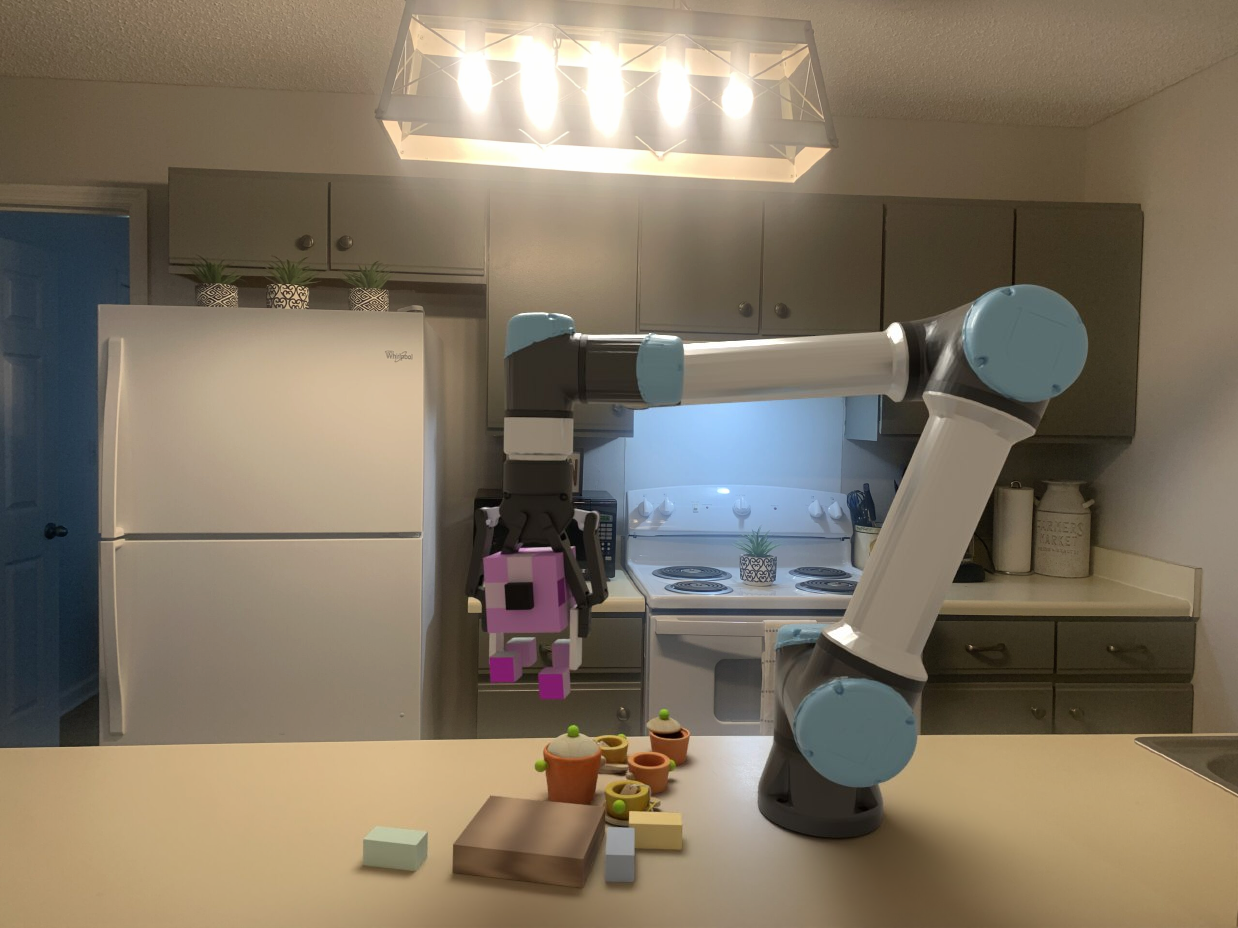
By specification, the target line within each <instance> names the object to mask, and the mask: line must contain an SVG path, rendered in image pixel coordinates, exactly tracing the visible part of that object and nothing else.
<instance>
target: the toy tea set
mask: <svg viewBox="0 0 1238 928" xmlns="http://www.w3.org/2000/svg"><path fill="white" fill-rule="evenodd" d="M645 726H646V729H648V730H649V740H650V746H651V749H650V750H651V751H639V752H635V753H633V754H630V755H629V756H628V748H629V741H628V739H627V736H626V735H625V734H623V733H620V734H618V735H615V734H614V735H613V734H609V735H608V734H605V735H600V736H596V737H594V738H591V737H590V736H588V735H585V734H583V733H580V729H579V727H578V726H577V725H575V724H573V725H570V726H568V728H567V733H563V734H560V735H559V736H557V737H555V738H554V739H553V740H552V741H550V742H549V743H547V744H546V745H545V746H544V747H543V752H542V753H543V754H542V755H543V759H538V760H536V761H535V763H534V770H535V771H536V772H537V773H543V772H544V773H545V778H546V786H547V787H546V788H547V794H548V795H547V797H548V801H551V802H561V803H571V804H581V805H589V804H591V803H592V802H593V801H594V799H595V796H596V795H595V794H596V789H597V783H598V778H599V774H608V775H610V774H612V775H613V774H619V773H623V772H625V780H624V779H620V780H616V781H612V782H610V783H607V785H606V786H605V787H604V796H605V801H604V802H602V803H601V804H600V805H599V806H601V807H605V823H608V824H611V825H614V826H617V827H618V826H620V827H629V811H640V812H654V809H653V808H659V807H661V799H660V798H657V797H655V796H654V797H653V796H652V794H653V795H655V794H659V793H662V792H664V791H665V790H666V788H667V784H668V779H669V773H670V772H673V771H675V770H676V766H678V765H682V764H683V763H685V762H686V760H687V754H688V749H689V748H688V747H689V742H690V737H691V732H690V730H688V729H687V728H684V727H682V726H681V724H680V723H679V721H677V720H676V719H674V718H672V717H670V713H669V710H668V709H666V708H665V709H664V708H663V709H660V710H659V712H658V716H657V717H654V718H652V719H650V720H649V721H648V722H647V723H646V725H645ZM627 770H628V772H626V771H627Z"/></svg>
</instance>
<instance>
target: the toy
mask: <svg viewBox="0 0 1238 928" xmlns="http://www.w3.org/2000/svg"><path fill="white" fill-rule="evenodd" d="M571 549H572V551H573V554H574V556H575V558H576V557H577V554H576V553H577V552H576V546H574V545H573V546H571ZM500 553H501V551H498V552H496V553H494V554H489V556H488V557H485V558H483V562H484V587H485V596H486V613H487V630H488V632H487V634H489V633H504V634H517V633H518V634H520V633H521V634H523V633H524V634H526V633H529V634H530V633H532V634H534V633H535V634H536V633H537V634H538V633H561V632H563V631H564V630H565V629H566V628H567V627H568V626H570V609H572V608H573V607H574V606H575V605H577V604H576V601H575V599H574V597H573V594H572V592H571V589H570V587H569V585H568V582H567V580H566V578H565V575H564V560H563V552H559V553H554V552H553V550H552V548H551V546H547V547H546V546H545V547H542V546H541V547H521V548H520V549H519V551H518V552H516V553H514V554H502V555H500ZM576 559H577V558H576ZM536 640H537V639H536V637H534V636H533V637H512V638H511V639H510V640H508V641H507V642H506V643H505V650H504V651H497V652H496V653H494V654H493V655H492V656H490V657H489V656H488V664H489V677H490V679H489V681H490V683H515V682H516V681H518V680H519V679H520V678H522V676H523V668H525V667H527V668H528V667H531V666H533V665H534V664H535V663H536V662H537V661H538V657H537V655H538V654H537V641H536ZM569 655H570V638H561V639H560V638H558V639H556V640H555V641H554V642H552V643H551V659H552V660H551V661H552V662H551V664H552V666H545V667H544V668H542V669H541V671H540V672H539V673H538V674H537V680H538V696H539V700H565V699H566V697H568V695H569V694H570V693H571V692H572V690H571V676H570V674H571V673H570V670H569Z"/></svg>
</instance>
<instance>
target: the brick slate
mask: <svg viewBox="0 0 1238 928" xmlns="http://www.w3.org/2000/svg"><path fill="white" fill-rule="evenodd" d="M606 829H607V831H606V844H605V859H604V860H605V862H604V863H605V865H604V868H605V869H604V882H614V883H615V882H617V883H618V882H621V883H623V882H625V883H626V882H627V883H634V882H635V881H634V880H635V848H634V828H629V827H623V826H620V827H618V826H614V827H612V826H607V827H606Z"/></svg>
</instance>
